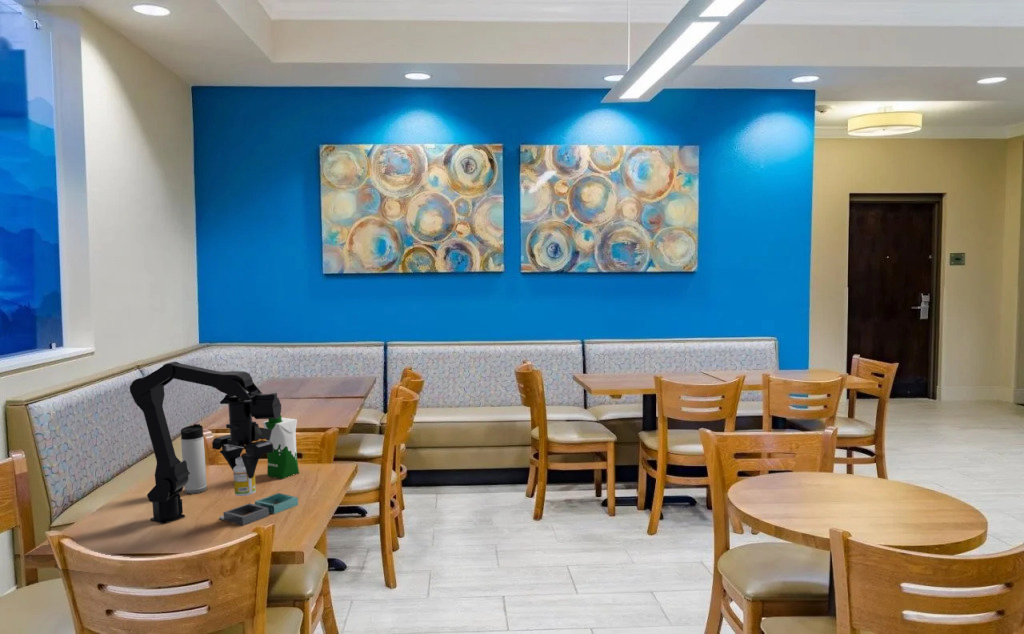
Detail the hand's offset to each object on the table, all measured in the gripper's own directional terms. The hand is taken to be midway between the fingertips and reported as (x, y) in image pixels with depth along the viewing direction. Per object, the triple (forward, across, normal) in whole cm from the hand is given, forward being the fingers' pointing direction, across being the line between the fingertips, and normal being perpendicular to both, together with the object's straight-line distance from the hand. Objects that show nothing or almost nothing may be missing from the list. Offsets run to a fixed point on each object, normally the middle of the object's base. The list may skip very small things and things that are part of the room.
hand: (244, 476), depth 195 cm
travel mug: (+12, +35, -8) cm, 38 cm away
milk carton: (+12, +24, -32) cm, 42 cm away
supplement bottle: (+5, 0, 0) cm, 5 cm away
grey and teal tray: (+11, +1, -5) cm, 13 cm away
